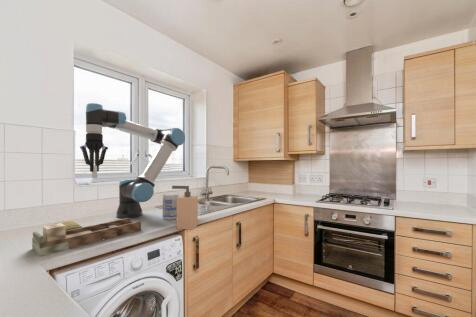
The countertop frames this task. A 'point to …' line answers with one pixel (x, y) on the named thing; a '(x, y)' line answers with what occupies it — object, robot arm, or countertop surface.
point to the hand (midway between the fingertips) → (94, 177)
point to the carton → (70, 225)
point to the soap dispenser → (186, 209)
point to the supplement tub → (170, 206)
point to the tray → (84, 236)
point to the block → (54, 232)
